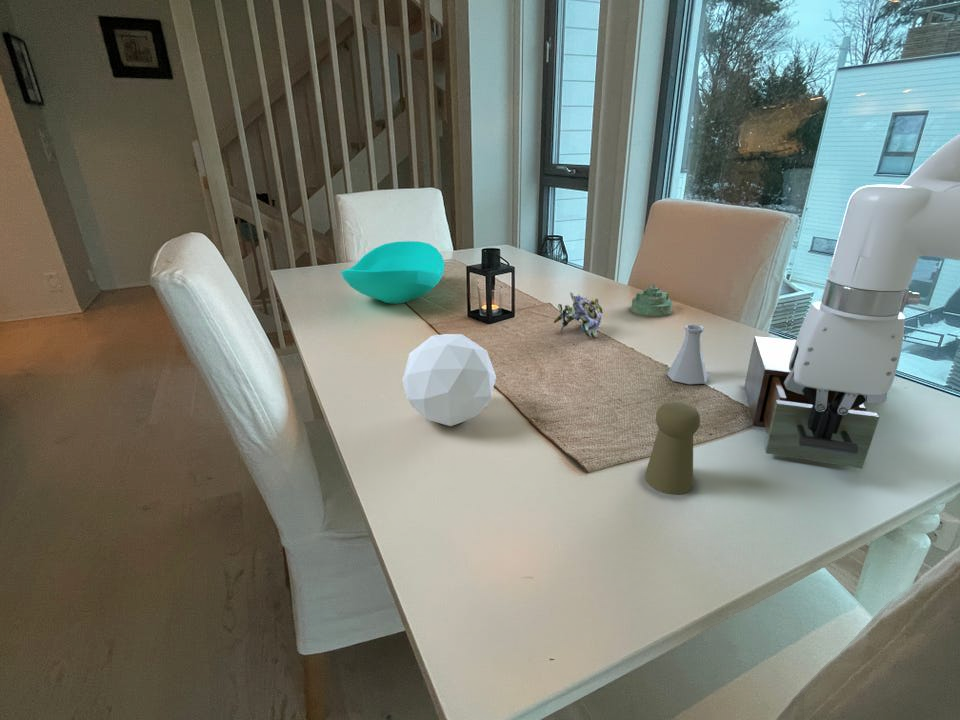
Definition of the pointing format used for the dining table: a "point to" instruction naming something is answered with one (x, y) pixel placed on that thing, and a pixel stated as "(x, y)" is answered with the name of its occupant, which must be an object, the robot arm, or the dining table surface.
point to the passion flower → (582, 314)
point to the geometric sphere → (449, 379)
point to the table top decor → (397, 271)
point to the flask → (690, 359)
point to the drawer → (794, 439)
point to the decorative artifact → (652, 302)
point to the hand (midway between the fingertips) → (819, 435)
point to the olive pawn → (673, 448)
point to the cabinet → (765, 371)
